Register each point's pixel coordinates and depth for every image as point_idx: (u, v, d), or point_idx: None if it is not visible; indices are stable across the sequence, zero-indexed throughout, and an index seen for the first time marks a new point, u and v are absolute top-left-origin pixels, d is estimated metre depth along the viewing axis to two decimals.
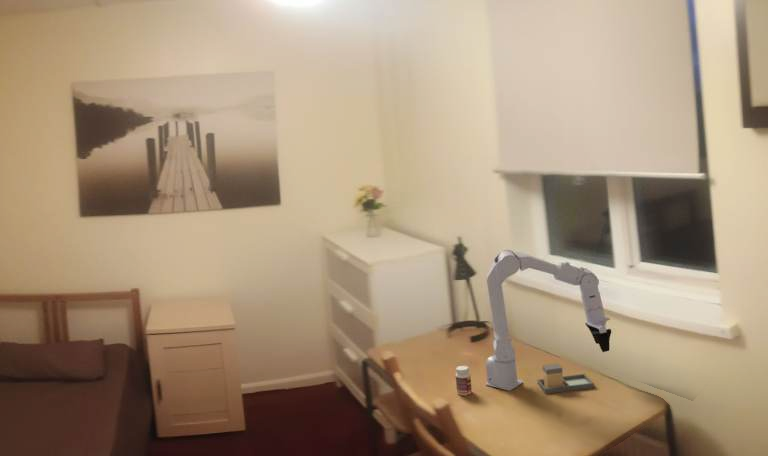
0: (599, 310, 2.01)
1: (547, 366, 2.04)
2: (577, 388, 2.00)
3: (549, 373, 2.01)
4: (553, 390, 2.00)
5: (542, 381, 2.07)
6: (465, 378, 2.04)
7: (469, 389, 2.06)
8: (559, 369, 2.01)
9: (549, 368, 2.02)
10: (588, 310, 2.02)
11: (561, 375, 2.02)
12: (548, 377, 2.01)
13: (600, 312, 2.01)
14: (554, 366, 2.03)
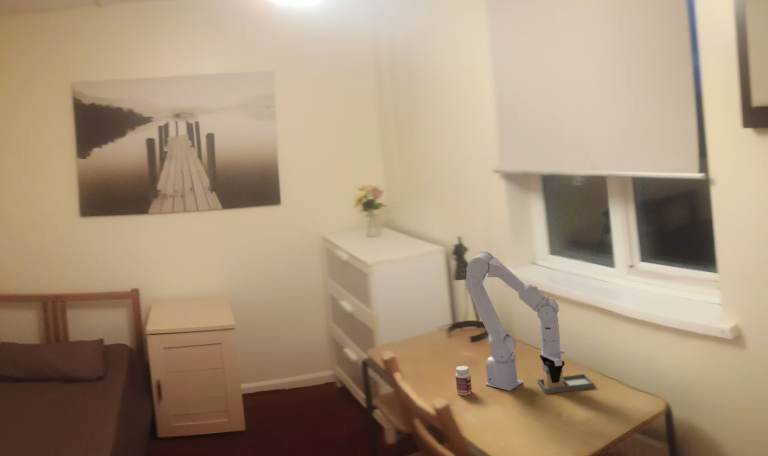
0: (556, 342, 1.99)
1: None
2: (577, 388, 2.00)
3: (549, 373, 2.01)
4: (553, 390, 2.00)
5: (542, 381, 2.07)
6: (465, 378, 2.04)
7: (469, 389, 2.06)
8: None
9: None
10: (546, 341, 2.00)
11: (561, 375, 2.02)
12: (548, 377, 2.01)
13: (557, 344, 2.00)
14: None
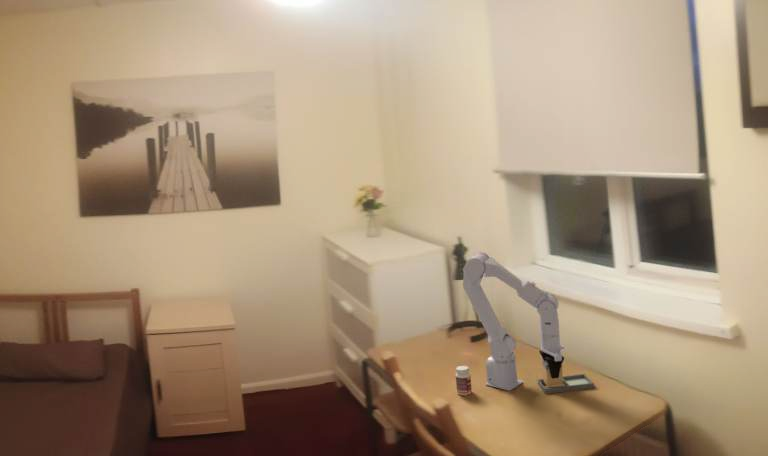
0: (556, 338, 1.99)
1: None
2: (577, 388, 2.00)
3: None
4: (553, 390, 2.00)
5: (542, 381, 2.07)
6: (465, 378, 2.04)
7: (469, 389, 2.06)
8: None
9: None
10: (545, 336, 1.99)
11: (560, 371, 2.01)
12: (548, 372, 2.01)
13: (557, 340, 1.99)
14: None
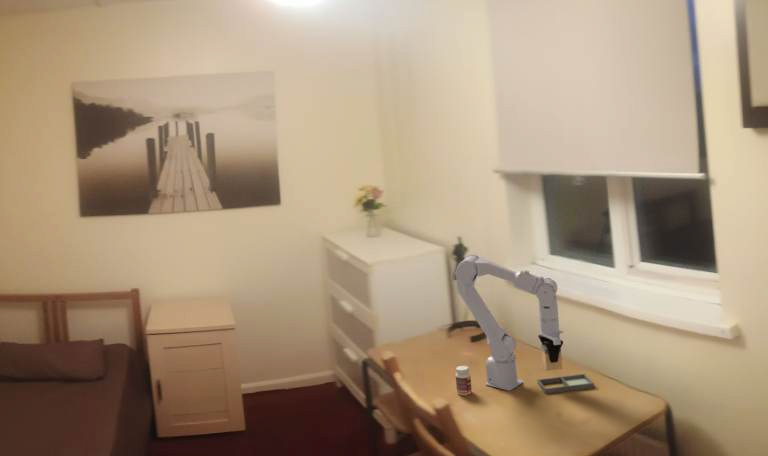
0: (555, 322, 1.98)
1: None
2: (577, 388, 2.00)
3: None
4: (553, 390, 2.00)
5: (542, 381, 2.07)
6: (465, 378, 2.04)
7: (469, 389, 2.06)
8: None
9: None
10: (544, 320, 1.99)
11: (559, 355, 2.01)
12: (547, 357, 2.00)
13: (555, 324, 1.99)
14: None
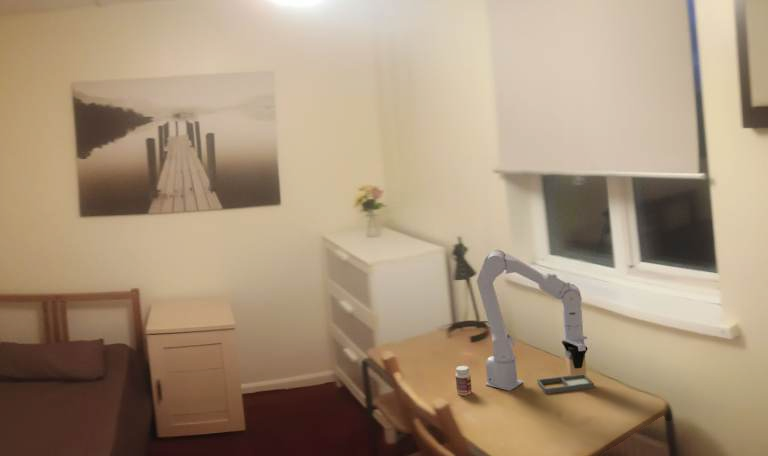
0: (579, 328, 1.99)
1: (569, 352, 2.03)
2: (577, 388, 2.00)
3: (572, 359, 2.01)
4: (553, 390, 2.00)
5: (542, 381, 2.07)
6: (465, 378, 2.04)
7: (469, 389, 2.06)
8: None
9: None
10: (568, 326, 1.99)
11: (583, 361, 2.01)
12: (571, 362, 2.01)
13: (580, 330, 1.99)
14: None
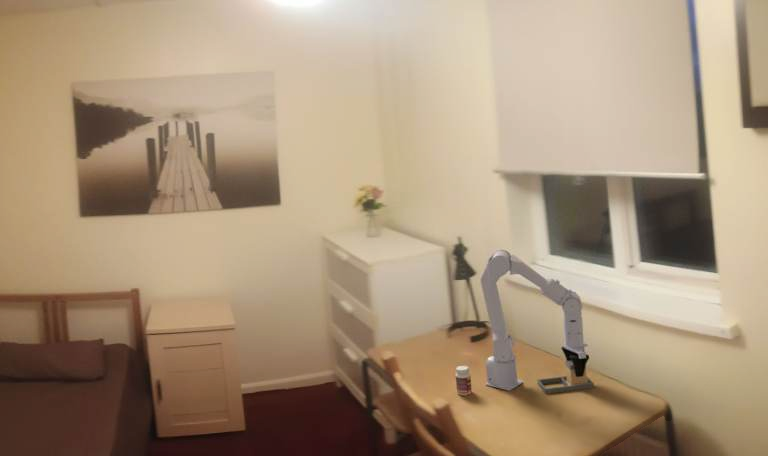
0: (580, 335, 1.99)
1: (570, 362, 2.04)
2: (577, 388, 2.00)
3: (573, 369, 2.02)
4: (553, 390, 2.00)
5: (542, 381, 2.07)
6: (465, 378, 2.04)
7: (469, 389, 2.06)
8: None
9: (572, 364, 2.02)
10: (569, 334, 2.00)
11: (584, 371, 2.02)
12: (571, 373, 2.02)
13: (580, 337, 2.00)
14: None
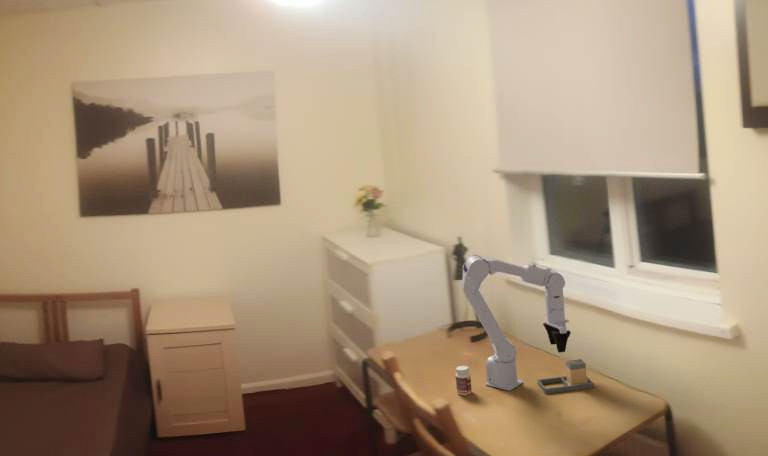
0: (561, 311, 2.05)
1: (570, 362, 2.04)
2: (577, 388, 2.00)
3: (573, 369, 2.02)
4: (553, 390, 2.00)
5: (542, 381, 2.07)
6: (465, 378, 2.04)
7: (469, 389, 2.06)
8: (583, 365, 2.02)
9: (572, 364, 2.02)
10: (550, 310, 2.05)
11: (584, 371, 2.02)
12: (571, 373, 2.02)
13: (561, 313, 2.05)
14: (577, 362, 2.03)
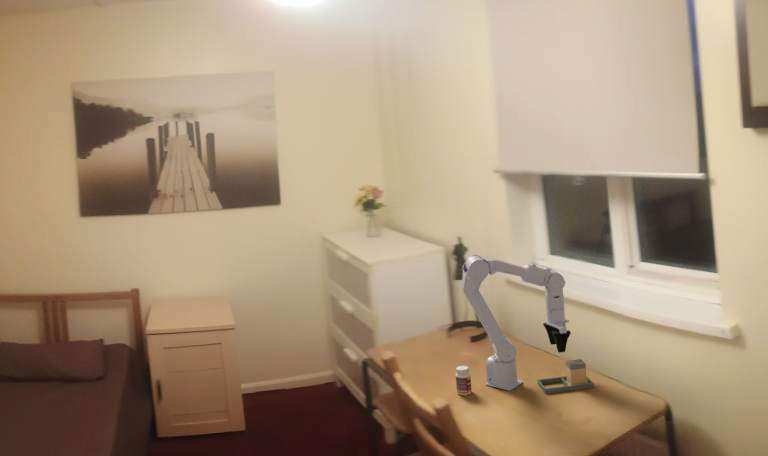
0: (561, 311, 2.05)
1: (570, 362, 2.04)
2: (577, 388, 2.00)
3: (573, 369, 2.02)
4: (553, 390, 2.00)
5: (542, 381, 2.07)
6: (465, 378, 2.04)
7: (469, 389, 2.06)
8: (583, 365, 2.02)
9: (572, 364, 2.02)
10: (550, 310, 2.05)
11: (584, 371, 2.02)
12: (571, 373, 2.02)
13: (561, 313, 2.05)
14: (577, 362, 2.03)
